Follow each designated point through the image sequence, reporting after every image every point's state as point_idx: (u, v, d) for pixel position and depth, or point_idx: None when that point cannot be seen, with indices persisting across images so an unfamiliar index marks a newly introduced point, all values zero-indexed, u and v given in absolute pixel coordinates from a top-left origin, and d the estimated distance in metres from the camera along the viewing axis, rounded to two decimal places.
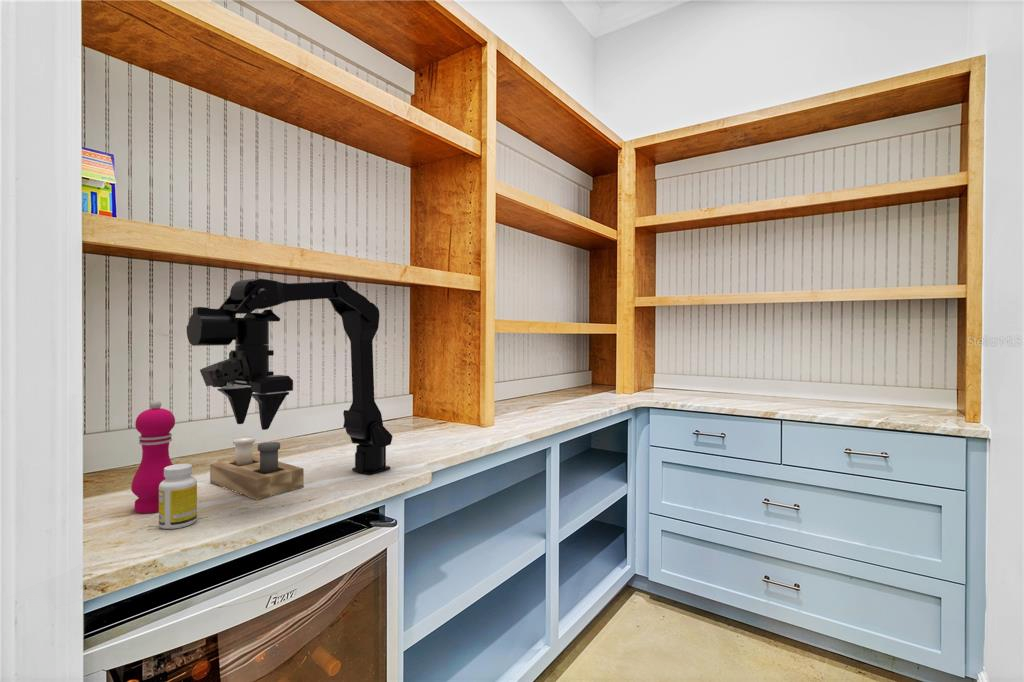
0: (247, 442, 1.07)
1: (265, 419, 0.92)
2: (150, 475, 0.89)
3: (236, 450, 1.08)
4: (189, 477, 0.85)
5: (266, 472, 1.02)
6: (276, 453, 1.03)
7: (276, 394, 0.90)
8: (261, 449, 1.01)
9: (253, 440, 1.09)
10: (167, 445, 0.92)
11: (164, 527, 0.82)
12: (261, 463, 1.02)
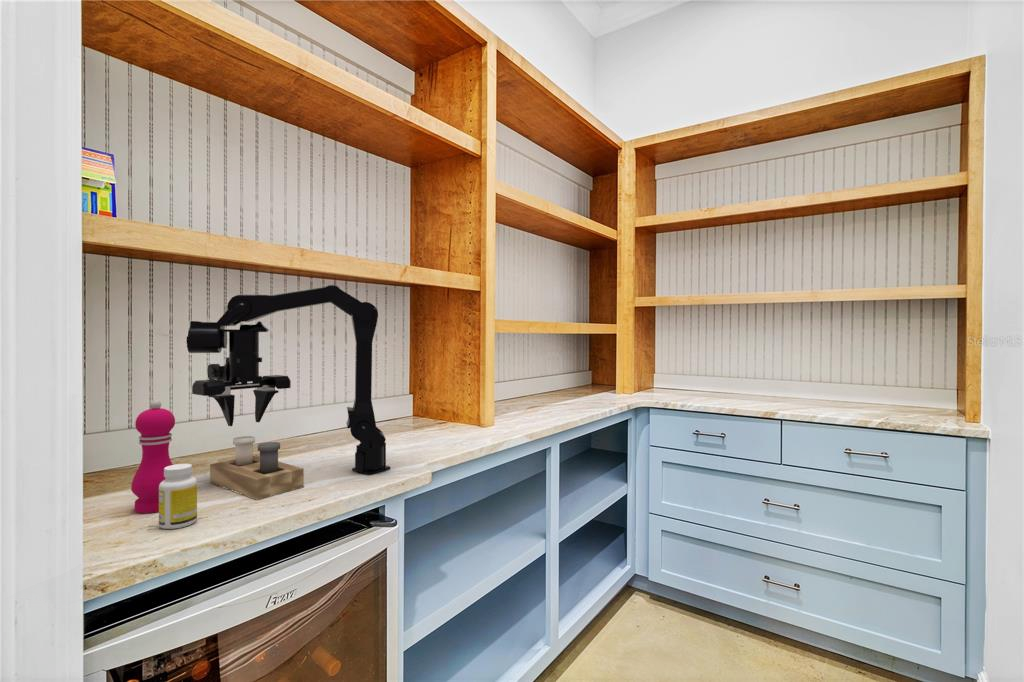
0: (247, 442, 1.07)
1: (227, 417, 1.06)
2: (150, 475, 0.89)
3: (236, 450, 1.08)
4: (189, 477, 0.85)
5: (266, 472, 1.02)
6: (276, 453, 1.03)
7: (213, 396, 1.03)
8: (261, 449, 1.01)
9: (253, 440, 1.09)
10: (167, 445, 0.92)
11: (164, 527, 0.82)
12: (261, 463, 1.02)
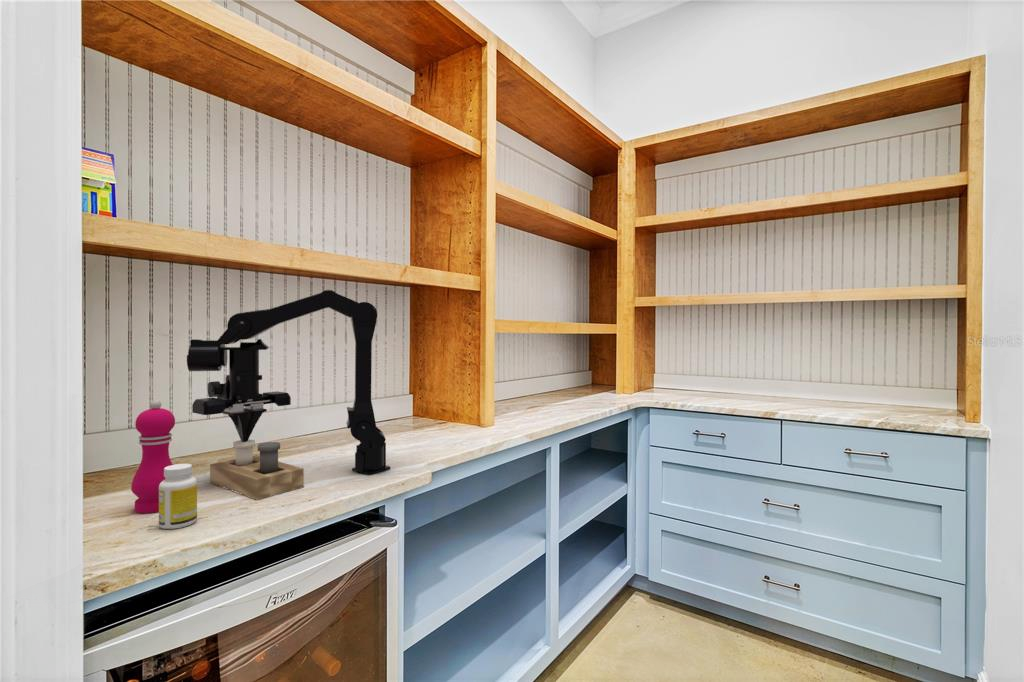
0: (247, 446, 1.07)
1: (240, 433, 1.08)
2: (150, 475, 0.89)
3: (236, 454, 1.08)
4: (189, 477, 0.85)
5: (266, 472, 1.02)
6: (276, 453, 1.03)
7: (227, 413, 1.06)
8: (261, 449, 1.01)
9: (253, 443, 1.09)
10: (167, 445, 0.92)
11: (164, 527, 0.82)
12: (261, 463, 1.02)
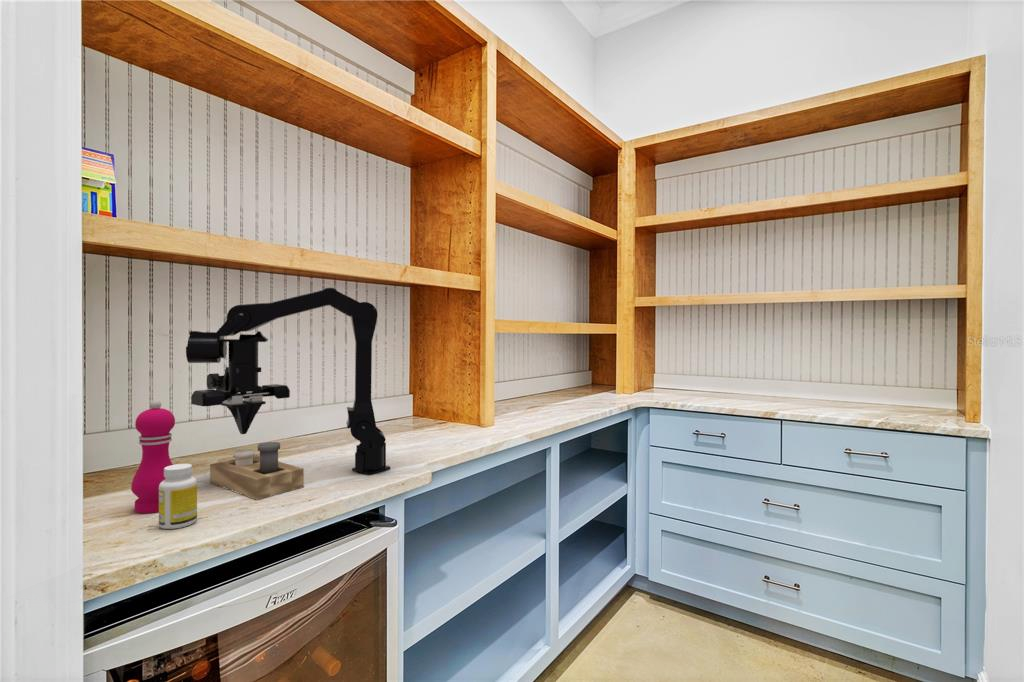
0: (247, 455, 1.08)
1: (239, 425, 1.08)
2: (150, 475, 0.89)
3: (236, 463, 1.08)
4: (189, 477, 0.85)
5: (266, 472, 1.02)
6: (276, 453, 1.03)
7: (226, 405, 1.06)
8: (261, 449, 1.01)
9: (253, 453, 1.09)
10: (167, 445, 0.92)
11: (164, 527, 0.82)
12: (261, 463, 1.02)
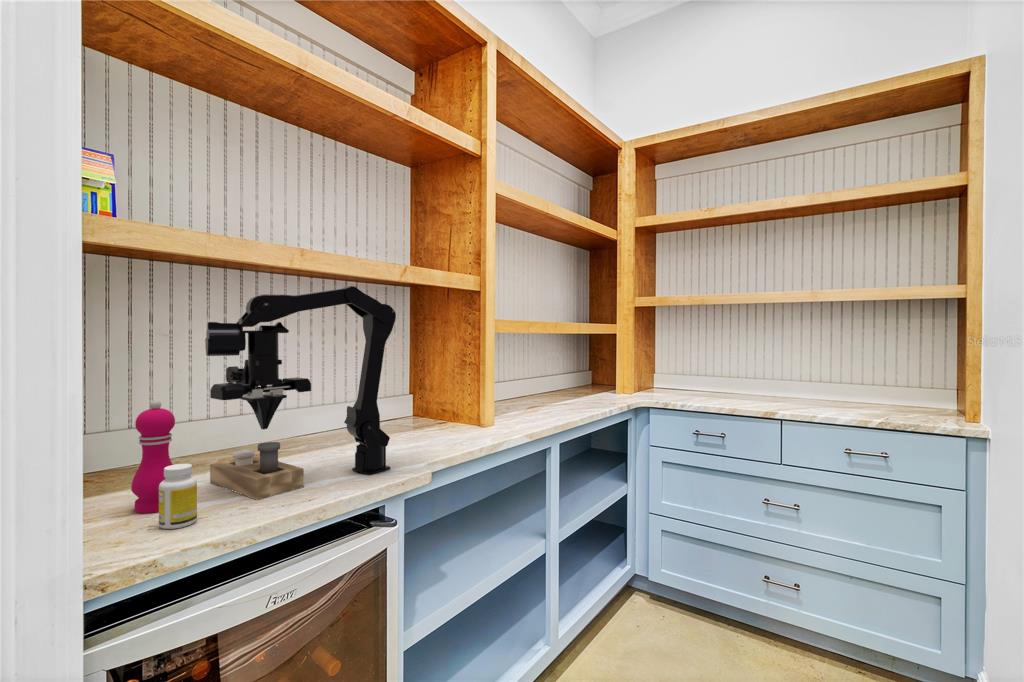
0: (247, 455, 1.08)
1: (259, 420, 1.04)
2: (150, 475, 0.89)
3: (236, 463, 1.08)
4: (189, 477, 0.85)
5: (266, 472, 1.02)
6: (276, 453, 1.03)
7: (246, 399, 1.01)
8: (261, 449, 1.01)
9: (253, 453, 1.09)
10: (167, 445, 0.92)
11: (164, 527, 0.82)
12: (261, 463, 1.02)
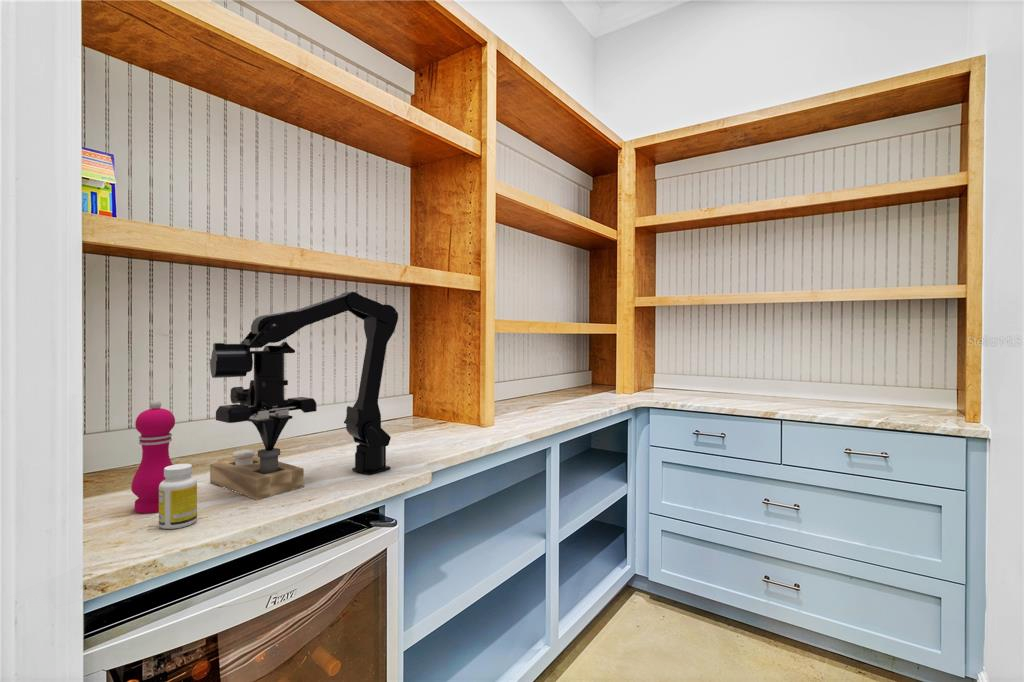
0: (247, 455, 1.08)
1: (265, 441, 1.03)
2: (150, 475, 0.89)
3: (236, 463, 1.08)
4: (189, 477, 0.85)
5: None
6: (276, 459, 1.03)
7: (252, 420, 1.00)
8: (261, 455, 1.01)
9: (253, 453, 1.09)
10: (167, 445, 0.92)
11: (164, 527, 0.82)
12: (261, 469, 1.02)
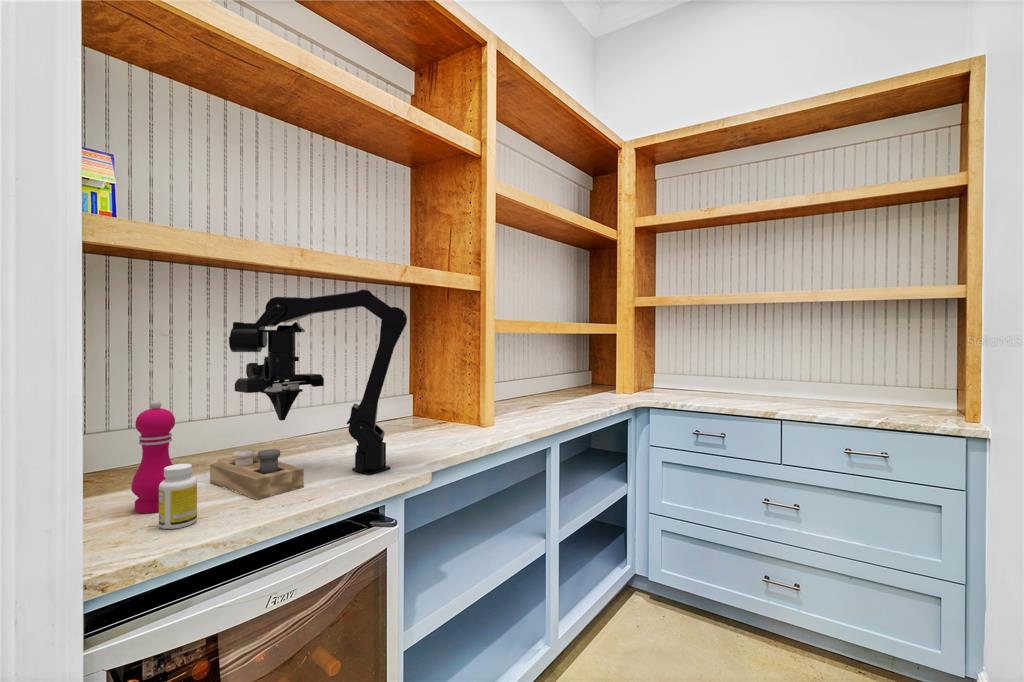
0: (247, 455, 1.08)
1: (278, 412, 1.13)
2: (150, 475, 0.89)
3: (236, 463, 1.08)
4: (189, 477, 0.85)
5: None
6: (276, 460, 1.03)
7: (267, 392, 1.11)
8: (261, 457, 1.01)
9: (253, 453, 1.09)
10: (167, 445, 0.92)
11: (164, 527, 0.82)
12: (261, 470, 1.02)
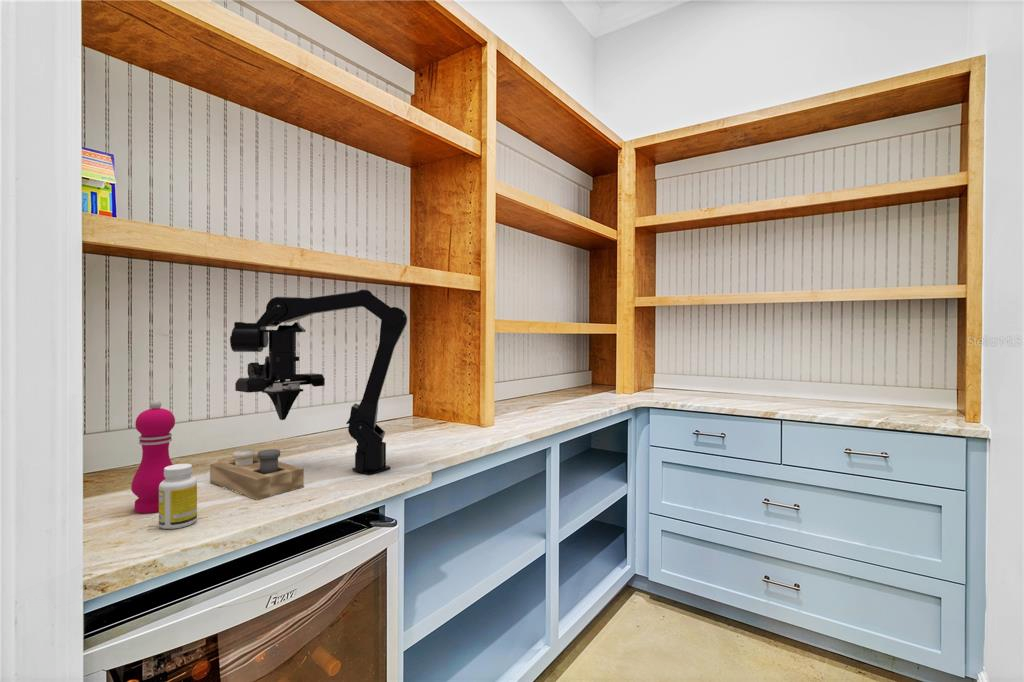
0: (247, 455, 1.08)
1: (278, 411, 1.14)
2: (150, 475, 0.89)
3: (236, 463, 1.08)
4: (189, 477, 0.85)
5: None
6: (276, 460, 1.03)
7: (267, 392, 1.11)
8: (261, 457, 1.01)
9: (253, 453, 1.09)
10: (167, 445, 0.92)
11: (164, 527, 0.82)
12: (261, 470, 1.02)
